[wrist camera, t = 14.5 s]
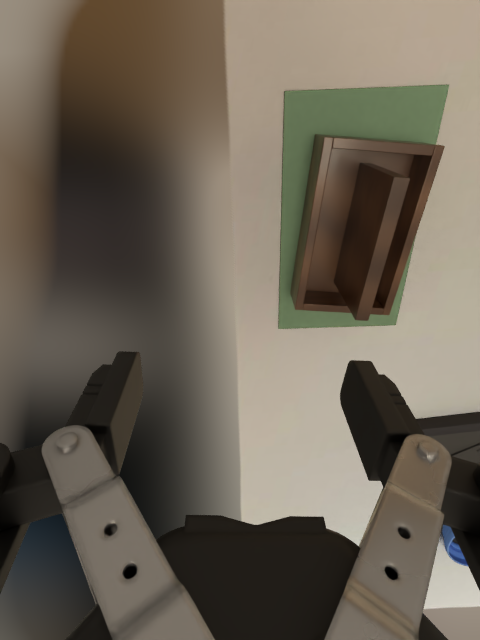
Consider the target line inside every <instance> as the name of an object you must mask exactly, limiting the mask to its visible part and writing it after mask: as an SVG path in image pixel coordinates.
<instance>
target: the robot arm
mask: <svg viewBox="0 0 480 640" xmlns="http://www.w3.org/2000/svg"><path fill="white" fill-rule="evenodd" d="M142 396H143V377H142V367H141V357H140V353H139V352H118V353H117V355H116V357H115V359H114V361H113V363H112V365H102V366H101V367H100V368H98V369H97V370H96V371H95V372H94V373H92V376H91V377H90V379H89V381H88V383H87V386H86V387H85V389H84V391H83V395H81V397H80V399H79V401H78V403H77V405H76V406H75V408H74V410H73V412H72V414H71V416H70V418H69V420H68V422H67V424H66V426H65V427H64V428H61V429H59V430H57V431H55V432H54V433H52V434H51V435H50V436H49V437H48V438H47V439H46V441H45V442H44V444H42V445H40V446H36V447H32V448H28V449H24V450H19V451H15V452H11V453H10V451H9V448H8V447H7V446H6V445H4V444H2V443H0V593H1V591H2V588H3V586H4V584H5V581H6V579H7V577H8V574H9V572H10V570H11V567H12V564H13V562H14V560H15V558H16V555H17V553H18V550H19V548H20V546H21V543H22V541H23V538H24V536H25V534H26V531H27V529H28V526H29V524H30V522H33V521H37V520H40V519H43V518H47V517H50V516H54V515H57V514H61V513H63V516H64V519H65V521H66V524H67V527H68V529H69V532H70V534H71V537H72V540H73V543H74V545H75V548H76V551H77V553H78V556H79V559H80V562H81V564H82V567H83V570H84V572H85V575H86V578H87V581H88V584H89V586H90V589H91V592H92V595H93V597H94V600H95V603H96V606H95V607H94V608H93V609H92V610H91V611H90V612H89V613H88V615H87V616H86V617H85V618H84V619H83V620H82V621H81V622H80V624H79V625H78V626H77V627H76V628H75V629H74V631H73V632H72V633H71V634H70V635H69V636H68V637H67V638H66V640H448V639H447V638H446V637H445V636H444V635H443V634H442V633H441V632H440V631H439V630H438V629H437V628H436V627H435V625H434V624H433V623H432V622H431V621H430V620H429V619H428V618H427V617H426V616H425V615H424V614H423V608H424V604H425V599H426V595H427V591H428V586H429V582H430V577H431V573H432V568H433V564H434V559H435V555H436V550H437V546H438V542H439V537H440V533H441V528H442V524H443V525H446V526H449V527H451V529H452V532H453V534H454V536H455V538H456V540H457V542H458V545H459V547H460V549H461V551H462V553H463V555H464V558H465V560H466V562H467V564H468V566H469V568H470V571H471V573H472V575H473V577H474V579H475V581H476V584H477V586H478V588H479V590H480V463H479V464H477V463H474V462H470V461H467V460H463V459H460V458H456V457H453V456H450V454H449V452H448V450H447V449H446V448H445V447H444V446H443V445H442V444H441V443H440V442H438V441H437V440H435V439H433V438H431V437H429V436H426V435H425V434H424V432H423V431H422V429H421V427H420V426H419V424H418V422H417V421H416V419H415V417H414V415H413V414H412V412H411V410H410V409H409V407H408V405H406V402H405V400H404V398H403V397H402V396H401V393H400V392H399V390H398V388H397V387H396V385H395V384H394V383H393V382H392V381H391V380H390V379H389V378H388V377H386V376H385V375H379V374H378V372H377V371H376V369H375V367H374V365H373V363H372V362H371V361H354V360H351V361H350V362H349V363H348V366H347V370H346V373H345V377H344V381H343V384H342V388H341V393H340V401H341V406H342V409H343V412H344V414H345V417H346V420H347V423H348V425H349V428H350V431H351V433H352V436H353V439H354V442H355V444H356V447H357V450H358V452H359V455H360V458H361V461H362V463H363V466H364V469H365V472H366V474H367V477H368V480H369V481H381V482H382V485H383V489H382V492H381V494H380V496H379V499H378V501H377V504H376V506H375V508H374V511H373V513H372V516H371V518H370V521H369V523H368V525H367V528H366V530H365V533H364V535H363V538H362V540H361V542H360V545H359V547H358V546H357V545H356V544H355V543H354V542H352V541H351V540H349V539H348V538H346V537H345V536H343V535H341V534H339V533H337V532H334V531H332V530H329V529H326V526H325V521H324V517H295V516H290V517H286V518H282V519H279V520H275V521H271V522H267V523H264V524H260V525H252V524H249V523H245V522H242V521H238V520H234V519H231V518H227V517H224V516H217V515H216V516H215V515H212V516H211V515H186V520H185V526H184V527H180V528H177V529H175V530H172V531H170V532H168V533H166V534H164V535H162V536H161V537H160V538H158V539H157V540H155V538H154V536H153V534H152V532H151V531H150V529H149V527H148V526H147V523H146V522H145V520H144V518H143V516H142V514H141V513H140V511H139V509H138V507H137V506H136V504H135V502H134V500H133V498H132V497H131V495H130V493H129V491H128V489H127V488H126V486H125V484H124V482H123V480H122V479H121V478H120V476H117V477H116V476H115V475H119V473H120V469H121V467H122V463H123V460H124V457H125V453H126V450H127V447H128V443H129V440H130V437H131V433H132V430H133V427H134V424H135V420H136V417H137V414H138V410H139V407H140V404H141V400H142Z"/></svg>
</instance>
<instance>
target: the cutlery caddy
mask: <svg viewBox="0 0 480 640" xmlns="http://www.w3.org/2000/svg"><path fill="white" fill-rule="evenodd" d="M443 150H444V146H441V145H435V144H429V143H423V142H412V141H399V140H386V139H374V138H361V137H349V136H336V135H323V134H315V138H314V144H313V150H312V157H311V163H310V169H309V176H308V182H307V188H306V195H305V201H304V208H303V214H302V220H301V227H300V233H299V239H298V246H297V252H296V258H295V265H294V271H293V277H292V284H291V290H290V294H291V297H292V301H293V304H294V308H295V310H306V311H323V312H340V313H351V314H352V315H353V317H354V319H355V320H360V321H368V320H369V317H370V314H374V315H390V312H391V309H392V306H393V303H394V300H395V297H396V294H397V291H398V288H399V284H400V281H401V278H402V275H403V272H404V269H405V266H406V263H407V260H408V257H409V254H410V251H411V248H412V245H413V242H414V239H415V236H416V233H417V229H418V226H419V223H420V220H421V217H422V214H423V211H424V208H425V205H426V202H427V199H428V196H429V193H430V190H431V187H432V184H433V181H434V178H435V174H436V171H437V168H438V165H439V162H440V159H441V156H442V153H443Z"/></svg>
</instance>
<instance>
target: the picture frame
mask: <svg viewBox="0 0 480 640" xmlns="http://www.w3.org/2000/svg"><path fill="white" fill-rule="evenodd" d="M416 421H417V422H418V424H419V426H420V427H421V429H422V431H423V432H424V434H425V435H426V436H429V437H431V438H433V439H435V440H437V441H438V442H440V443H441V444H442V445H443V446H444V447H445V448H446V449H447V450H448V452H449V454H450V456H453V457H456V458H460V459H463V460H467V461H470V462H474V463H477V464H479V463H480V412H477V413H468V414H459V415H451V416H442V417H433V418H425V419H416Z"/></svg>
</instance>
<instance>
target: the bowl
mask: <svg viewBox="0 0 480 640" xmlns="http://www.w3.org/2000/svg"><path fill="white" fill-rule="evenodd" d="M442 534H443V537H444V544H445V549H446V551H447V553H448V555H449V557H450V558H451V559H452V560H453V561H455V562H456V563H459V564H461V565H464V566H468V564H467V562H466V560H465V558H464V555H463V553H462V551H461V549H460V547H459V545H458V542H457V540H456V538H455V536H454V534H453V532H452V529H451V527H449V526H446V525H443V528H442ZM468 567H469V566H468Z"/></svg>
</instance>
